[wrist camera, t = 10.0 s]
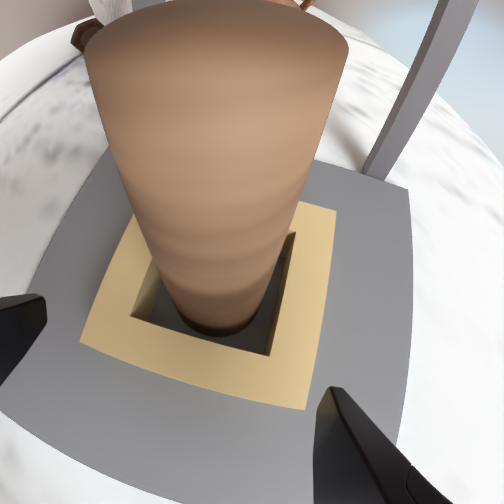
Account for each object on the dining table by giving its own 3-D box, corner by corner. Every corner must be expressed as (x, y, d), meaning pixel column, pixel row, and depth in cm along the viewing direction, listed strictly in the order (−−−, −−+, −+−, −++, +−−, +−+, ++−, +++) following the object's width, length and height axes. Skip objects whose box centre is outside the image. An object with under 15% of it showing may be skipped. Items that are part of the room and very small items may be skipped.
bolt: (121, 89, 29) (87, 56, 33) (151, 59, 29) (110, 32, 33) (90, 65, 24) (63, 37, 28) (124, 31, 23) (88, 12, 27)
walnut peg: (272, 322, 16) (402, 84, 4) (186, 347, 15) (63, 122, 3) (245, 247, 18) (284, -4, 6) (166, 266, 17) (97, 15, 5)
